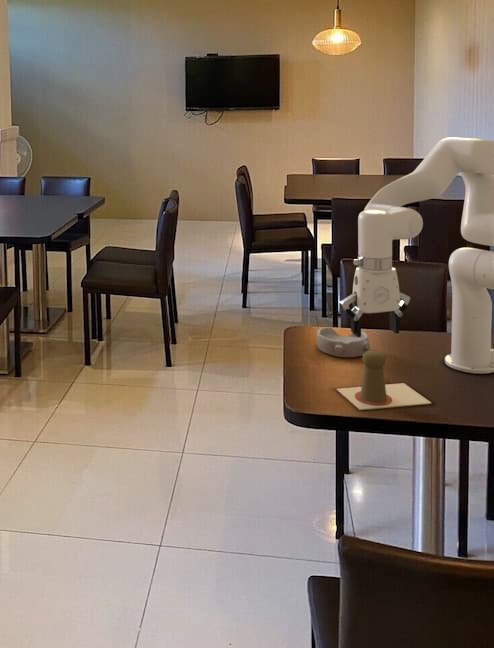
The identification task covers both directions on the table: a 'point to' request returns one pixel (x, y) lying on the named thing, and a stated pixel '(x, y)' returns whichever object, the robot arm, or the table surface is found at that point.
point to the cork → (373, 377)
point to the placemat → (395, 397)
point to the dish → (342, 343)
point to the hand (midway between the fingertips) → (375, 333)
